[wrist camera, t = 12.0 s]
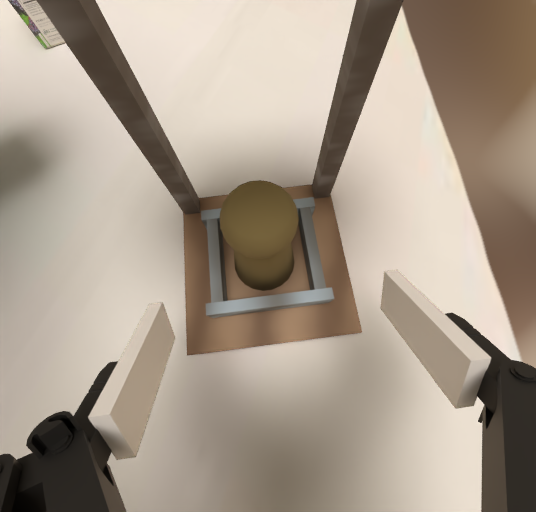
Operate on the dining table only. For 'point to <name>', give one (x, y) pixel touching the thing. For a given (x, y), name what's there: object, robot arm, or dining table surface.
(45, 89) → the dining table surface
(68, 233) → the dining table surface
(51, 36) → the syrup box
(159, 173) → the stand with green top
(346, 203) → the dining table surface
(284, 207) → the cork
